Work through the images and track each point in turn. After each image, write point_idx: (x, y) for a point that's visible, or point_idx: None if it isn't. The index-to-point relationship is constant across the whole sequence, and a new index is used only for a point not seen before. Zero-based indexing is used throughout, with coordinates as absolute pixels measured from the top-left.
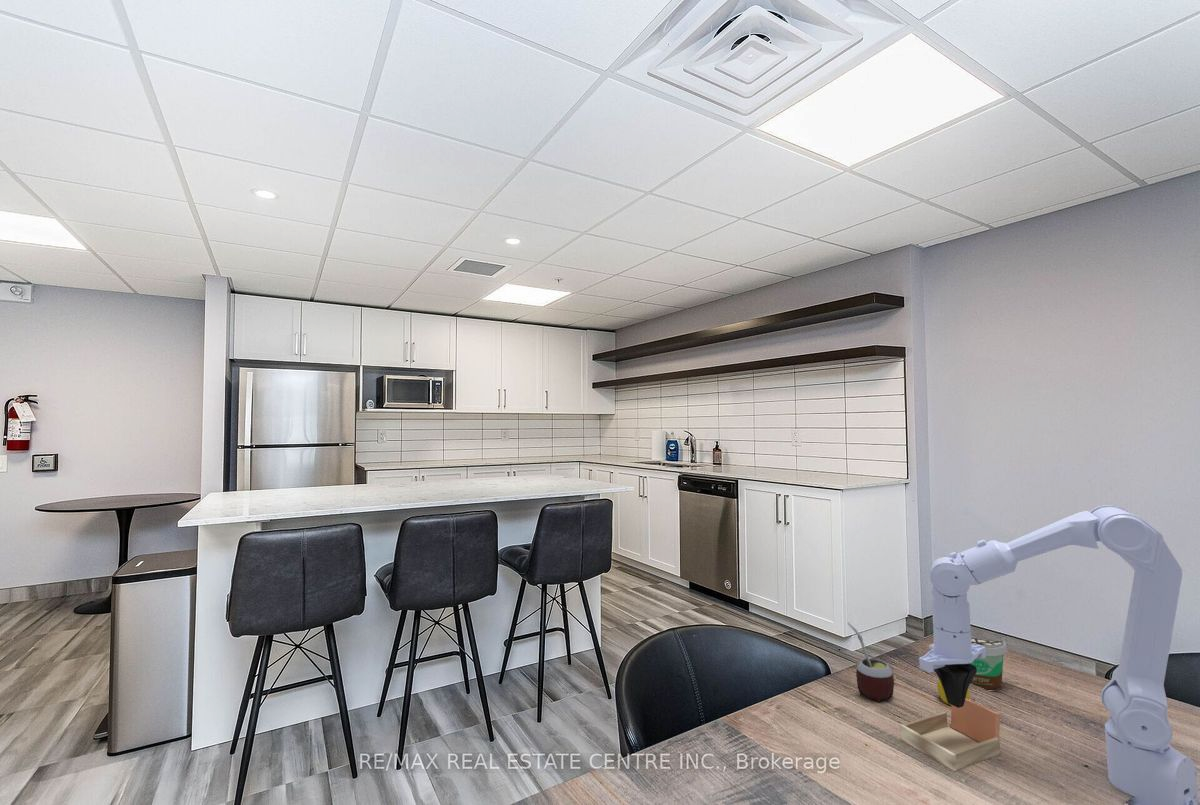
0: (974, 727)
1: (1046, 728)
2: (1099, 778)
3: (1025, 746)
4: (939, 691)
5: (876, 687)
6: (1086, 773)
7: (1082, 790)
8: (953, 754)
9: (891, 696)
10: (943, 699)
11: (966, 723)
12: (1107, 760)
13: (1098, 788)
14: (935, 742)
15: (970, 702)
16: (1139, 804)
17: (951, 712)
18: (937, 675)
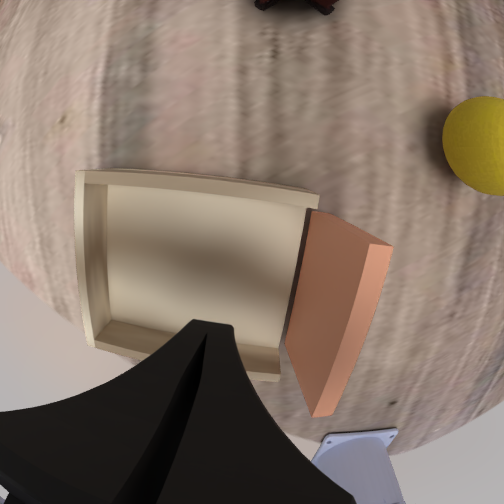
0: (307, 306)
1: (485, 313)
2: (363, 424)
3: (396, 334)
4: (457, 110)
5: None
6: (366, 413)
7: (303, 429)
8: (90, 344)
9: (331, 1)
10: (445, 125)
11: (313, 279)
12: (349, 472)
13: (329, 433)
14: (170, 235)
15: (341, 337)
16: (315, 464)
17: (330, 222)
18: (80, 394)
